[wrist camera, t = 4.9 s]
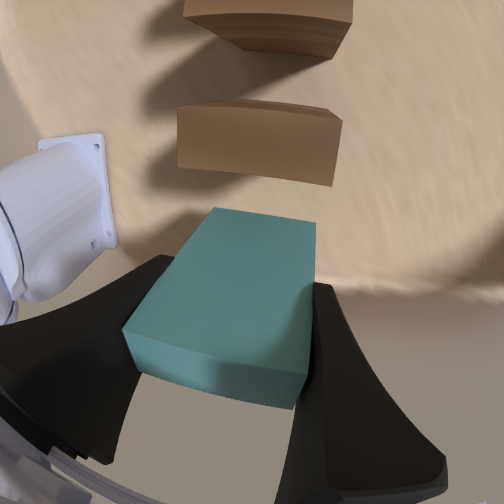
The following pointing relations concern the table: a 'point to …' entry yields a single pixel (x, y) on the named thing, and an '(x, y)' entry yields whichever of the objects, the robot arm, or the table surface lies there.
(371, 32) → the table surface
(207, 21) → the domino
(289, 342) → the teal domino
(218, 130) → the domino
